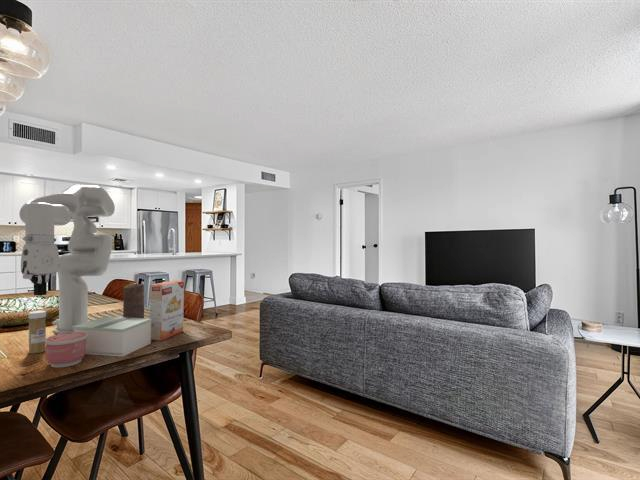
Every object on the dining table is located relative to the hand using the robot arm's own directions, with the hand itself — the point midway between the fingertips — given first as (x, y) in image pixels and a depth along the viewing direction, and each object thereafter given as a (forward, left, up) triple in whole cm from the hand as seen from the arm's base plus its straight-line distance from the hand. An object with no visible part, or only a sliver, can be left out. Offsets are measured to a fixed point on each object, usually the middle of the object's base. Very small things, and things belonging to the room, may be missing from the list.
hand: (40, 294), depth 115 cm
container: (+17, -7, -19) cm, 27 cm away
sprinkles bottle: (-1, 0, -19) cm, 19 cm away
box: (+21, +8, -19) cm, 30 cm away
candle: (+17, +23, -19) cm, 34 cm away
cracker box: (+30, +25, -19) cm, 44 cm away
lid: (+21, +8, -11) cm, 25 cm away
